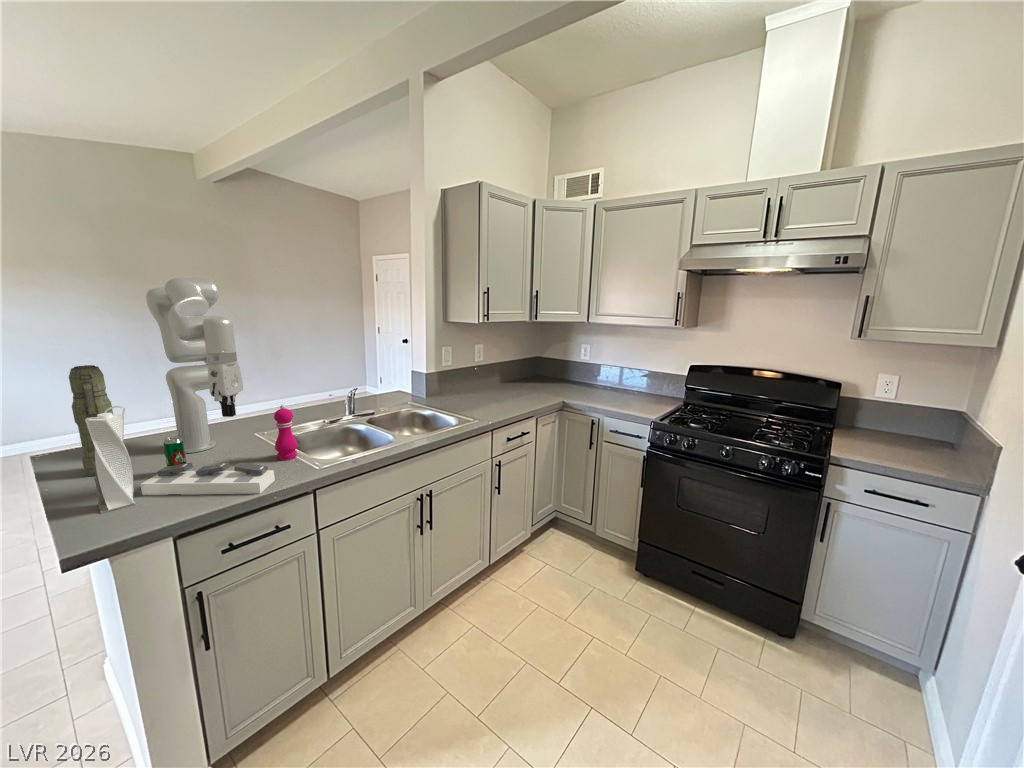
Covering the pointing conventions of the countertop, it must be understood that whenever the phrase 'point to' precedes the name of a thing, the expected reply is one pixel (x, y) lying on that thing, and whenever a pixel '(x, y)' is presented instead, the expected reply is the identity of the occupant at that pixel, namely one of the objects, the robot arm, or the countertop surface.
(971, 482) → the countertop surface
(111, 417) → the skyscraper
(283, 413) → the pepper mill
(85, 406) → the olive piece
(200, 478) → the power strip
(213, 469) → the middle rocker
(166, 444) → the soda can
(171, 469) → the rocker
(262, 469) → the block
